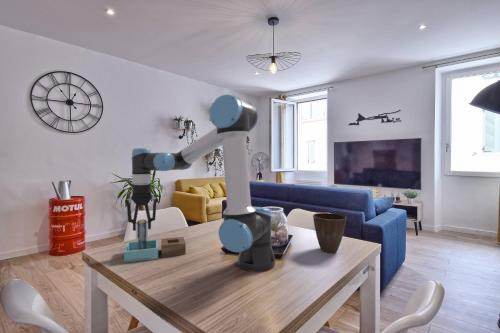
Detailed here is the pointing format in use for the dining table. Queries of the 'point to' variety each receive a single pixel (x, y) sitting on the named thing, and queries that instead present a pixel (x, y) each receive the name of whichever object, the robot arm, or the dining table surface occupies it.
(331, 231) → the plant pot
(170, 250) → the block
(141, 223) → the steel pin
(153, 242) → the pin tray
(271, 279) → the dining table surface
